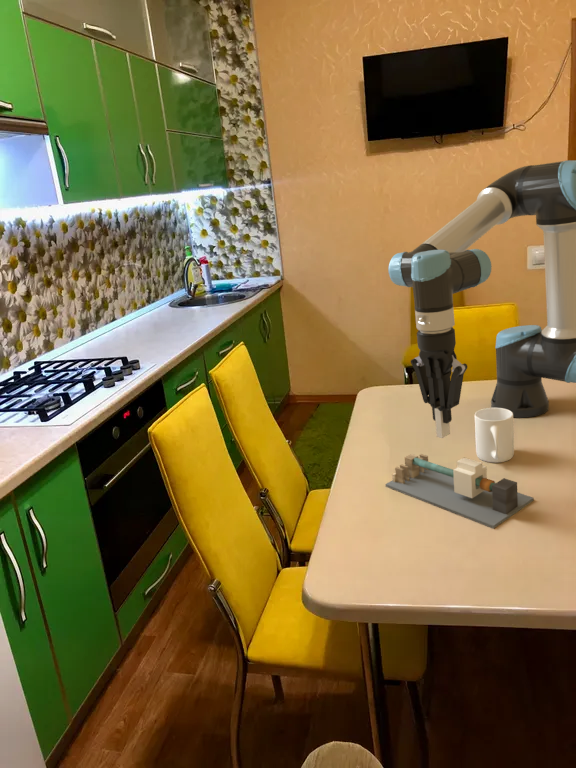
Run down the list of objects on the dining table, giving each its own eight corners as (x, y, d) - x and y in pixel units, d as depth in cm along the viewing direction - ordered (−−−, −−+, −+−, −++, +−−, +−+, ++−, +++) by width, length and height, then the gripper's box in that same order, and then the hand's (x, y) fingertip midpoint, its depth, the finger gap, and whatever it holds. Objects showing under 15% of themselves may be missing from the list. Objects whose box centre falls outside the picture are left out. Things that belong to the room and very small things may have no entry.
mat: (425, 464, 148) (425, 462, 148) (533, 500, 126) (533, 497, 126) (385, 486, 140) (385, 484, 140) (493, 528, 118) (493, 525, 118)
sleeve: (469, 482, 133) (468, 454, 131) (487, 488, 129) (486, 460, 127) (454, 492, 130) (452, 463, 128) (472, 498, 126) (470, 469, 124)
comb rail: (421, 467, 146) (419, 444, 145) (526, 503, 125) (525, 476, 124) (392, 483, 141) (390, 459, 139) (497, 523, 120) (496, 496, 118)
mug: (477, 470, 142) (475, 427, 138) (475, 448, 153) (473, 408, 149) (517, 470, 139) (516, 426, 136) (512, 447, 150) (511, 406, 147)
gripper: (398, 330, 127) (408, 434, 135) (450, 337, 117) (457, 449, 125) (422, 321, 132) (430, 422, 139) (474, 327, 122) (480, 435, 129)
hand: (443, 435), depth 132 cm, fingers closed
